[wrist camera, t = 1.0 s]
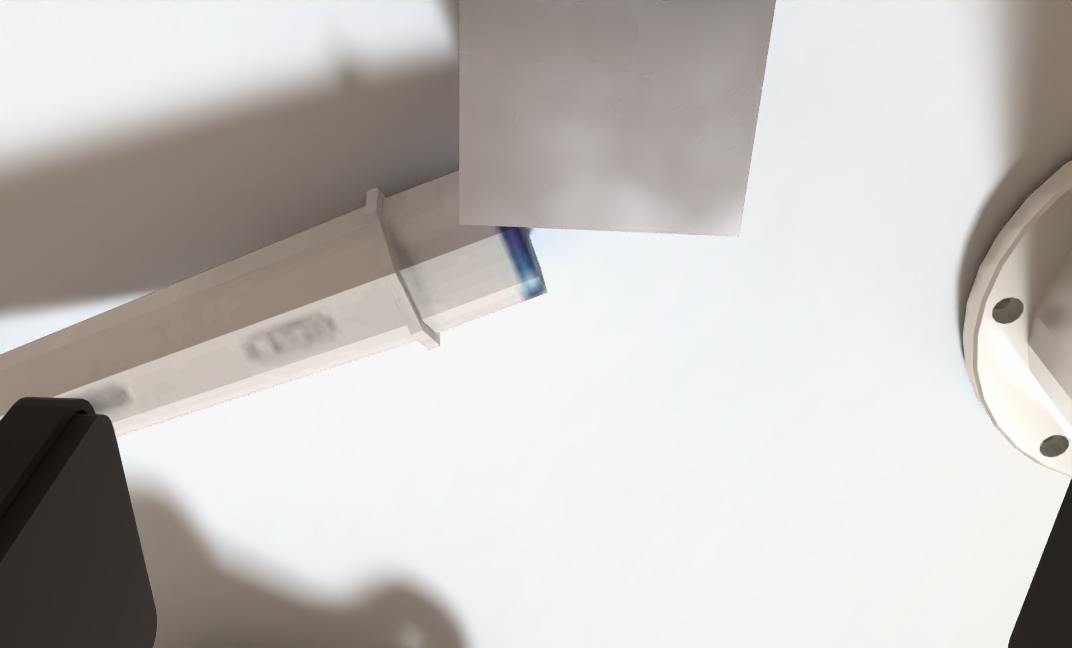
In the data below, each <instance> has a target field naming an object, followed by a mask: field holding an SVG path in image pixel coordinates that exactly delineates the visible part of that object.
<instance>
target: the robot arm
mask: <svg viewBox="0 0 1072 648" xmlns="http://www.w3.org/2000/svg"><path fill="white" fill-rule="evenodd" d="M963 346H964V355H965V364H966V370H967V373H968V376H969V378H970V381H971V383H972V386H973V389H974V391H975V394H976V397H977V399H978V400H979V402H980V403H981V405H982V406H983V408H984V409H985V411H986V413H987V414H988V416H989V418H990V419H991V421H992V423H993V424H994V426H995V427H996V428H997V429H998V430H999V431H1000V432H1001V433H1002V434H1003V435H1004V437H1005V438H1006V439H1007V440H1008V441H1009V442H1010V443H1011V444H1012V445H1013V446H1014V447H1015V448H1016V449H1017V450H1019V451H1020V452H1022V453H1023V454H1024V455H1026V456H1027V457H1029V458H1030V459H1031V460H1033V461H1034V462H1036V463H1038V464H1040V465H1042V466H1044V467H1047V468H1049V469H1052V470H1054V471H1057V472H1059V473H1062V474H1064V475H1067V476H1069V477H1072V160H1070V161H1069V162H1067V163H1066V164H1064V165H1063V166H1062V167H1061V168H1060V169H1059V170H1057V171H1056V172H1055V173H1054V174H1053V175H1052V176H1051V177H1050V178H1049V179H1047V180H1046V181H1045V182H1044V183H1043V184H1042V185H1041V186H1040V187H1039V188H1037V189H1036V190H1035V191H1034V192H1033V193H1032V194H1031V195H1030V196H1029V197H1028V198H1027V199H1026V200H1025V201H1024V202H1023V204H1022V205H1021V206H1020V207H1019V209H1018V210H1017V211H1016V212H1015V214H1014V215H1013V216H1012V217H1011V218H1010V220H1009V221H1008V222H1007V223H1006V225H1005V226H1004V227H1003V228H1002V229H1001V231H1000V232H999V234H998V235H997V237H996V239H995V241H994V242H993V244H992V246H991V248H990V250H989V251H988V253H987V255H986V257H985V258H984V260H983V262H982V264H981V265H980V267H979V270H978V272H977V275H976V278H975V281H974V284H973V287H972V290H971V293H970V296H969V299H968V301H967V306H966V314H965V322H964V330H963ZM156 629H157V615H156V609H155V604H154V600H153V596H152V591H151V587H150V583H149V578H148V574H147V570H146V565H145V561H144V557H143V552H142V548H141V544H140V539H139V535H138V531H137V526H136V522H135V518H134V513H133V509H132V505H131V500H130V496H129V492H128V487H127V483H126V479H125V474H124V470H123V466H122V461H121V457H120V453H119V448H118V444H117V440H116V435H115V431H114V427H113V424H112V421H111V420H110V418H109V417H108V416H107V415H104V414H96V413H95V410H94V408H93V406H92V405H91V404H90V402H89V401H87V400H85V399H81V398H51V397H24V398H20V399H19V400H18V401H17V402H16V403H14V404H13V405H12V407H11V408H10V409H9V410H8V412H7V413H6V414H5V415H4V417H3V418H2V419H1V420H0V648H153V645H154V641H155V636H156ZM1008 648H1072V479H1071V481H1070V484H1069V487H1068V489H1067V492H1066V494H1065V497H1064V500H1063V502H1062V505H1061V507H1060V510H1059V513H1058V515H1057V518H1056V520H1055V523H1054V525H1053V528H1052V531H1051V533H1050V536H1049V538H1048V541H1047V544H1046V546H1045V549H1044V551H1043V554H1042V557H1041V559H1040V562H1039V564H1038V567H1037V570H1036V572H1035V575H1034V577H1033V580H1032V583H1031V585H1030V588H1029V590H1028V593H1027V596H1026V598H1025V601H1024V603H1023V606H1022V608H1021V611H1020V614H1019V616H1018V619H1017V621H1016V624H1015V627H1014V629H1013V632H1012V634H1011V637H1010V640H1009V644H1008Z"/></svg>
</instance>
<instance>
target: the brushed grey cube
mask: <svg viewBox="0 0 1072 648" xmlns="http://www.w3.org/2000/svg"><path fill="white" fill-rule="evenodd" d="M775 3H776V0H459V224H463V225H486V226H509V227H532V228H555V229H578V230H600V231H623V232H646V233H669V234H692V235H715V236H738V237H739V232H740V226H741V220H742V213H743V207H744V201H745V194H746V188H747V181H748V175H749V169H750V162H751V156H752V150H753V143H754V137H755V131H756V124H757V118H758V111H759V105H760V99H761V92H762V86H763V80H764V73H765V67H766V60H767V54H768V48H769V41H770V35H771V29H772V22H773V16H774V10H775Z"/></svg>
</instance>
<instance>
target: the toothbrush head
mask: <svg viewBox="0 0 1072 648" xmlns="http://www.w3.org/2000/svg"><path fill="white" fill-rule="evenodd" d="M545 293H547V290H546V286H545V282H544V279H543V275H542V271H541V268H540V265H539V263H538V260H537V257H536V254H535V251H534V248H533V246H532V243H531V240H530V237H529V234H528V232H527V229H526V227H509V226H486V225H463V224H459V170H457V171H455V172H452V173H450V174H447V175H444V176H442V177H439V178H436V179H434V180H431V181H429V182H426V183H423V184H421V185H418V186H415V187H413V188H410V189H408V190H405V191H402V192H400V193H397V194H395V195H392V196H389V197H386V195H385V194H384V193H383V192H382V190H381V189H380V188H379V187H376V188H373V189H370V190H368V191H367V196H366V205H365V206H364V207H361V208H359V209H356V210H354V211H351V212H349V213H346V214H344V215H342V216H339V217H337V218H334V219H332V220H329V221H327V222H324V223H322V224H319V225H317V226H315V227H312V228H310V229H307V230H305V231H302V232H300V233H297V234H295V235H293V236H290V237H288V238H285V239H283V240H280V241H278V242H275V243H273V244H270V245H268V246H266V247H263V248H261V249H258V250H256V251H253V252H251V253H248V254H246V255H243V256H241V257H239V258H236V259H234V260H231V261H229V262H226V263H224V264H221V265H219V266H216V267H214V268H212V269H209V270H207V271H204V272H202V273H199V274H197V275H194V276H192V277H189V278H187V279H185V280H182V281H180V282H177V283H175V284H172V285H170V286H167V287H165V288H163V289H160V290H158V291H155V292H153V293H150V294H148V295H145V296H143V297H140V298H138V299H136V300H133V301H131V302H128V303H126V304H123V305H121V306H118V307H116V308H113V309H111V310H109V311H106V312H104V313H101V314H99V315H96V316H94V317H91V318H89V319H86V320H84V321H82V322H79V323H77V324H74V325H72V326H69V327H67V328H64V329H62V330H60V331H57V332H55V333H52V334H50V335H47V336H45V337H42V338H40V339H37V340H35V341H33V342H30V343H28V344H25V345H23V346H20V347H18V348H15V349H13V350H10V351H8V352H6V353H3V354H1V355H0V420H1V419H2V418H3V417H4V415H5V414H6V413H7V412H8V410H9V409H10V408H11V407H12V405H13V404H14V403H16V402H17V401H18V400H19V399H20V398H24V397H51V398H81V399H85V400H87V401H89V402H90V404H91V405H92V406H93V408H94V410H95V413H96V414H104V415H107V416H108V417H109V418H110V420H111V421H112V424H113V427H114V431H115V435H116V437H118V436H121V435H124V434H127V433H130V432H133V431H136V430H139V429H143V428H146V427H149V426H152V425H155V424H158V423H161V422H164V421H167V420H171V419H174V418H177V417H180V416H183V415H186V414H189V413H192V412H196V411H199V410H202V409H205V408H208V407H211V406H214V405H217V404H221V403H224V402H227V401H230V400H233V399H236V398H239V397H242V396H245V395H249V394H252V393H255V392H258V391H261V390H264V389H267V388H270V387H274V386H277V385H280V384H283V383H286V382H289V381H292V380H295V379H299V378H302V377H305V376H308V375H311V374H314V373H317V372H320V371H323V370H327V369H330V368H333V367H336V366H339V365H342V364H345V363H348V362H352V361H355V360H358V359H361V358H364V357H367V356H370V355H373V354H376V353H380V352H383V351H386V350H389V349H392V348H395V347H398V346H401V345H405V344H408V343H411V342H414V341H417V340H418V341H419V342H420V343H421V344H422V345H424V346H425V347H426V348H427V349H428V350H431V349H433V348H436V347H439V346H440V335H439V333H440V332H442V331H445V330H448V329H450V328H453V327H456V326H459V325H461V324H464V323H467V322H469V321H472V320H475V319H477V318H480V317H483V316H485V315H488V314H491V313H494V312H496V311H499V310H502V309H504V308H507V307H510V306H512V305H515V304H518V303H521V302H523V301H526V300H529V299H531V298H534V297H537V296H539V295H542V294H545Z"/></svg>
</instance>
